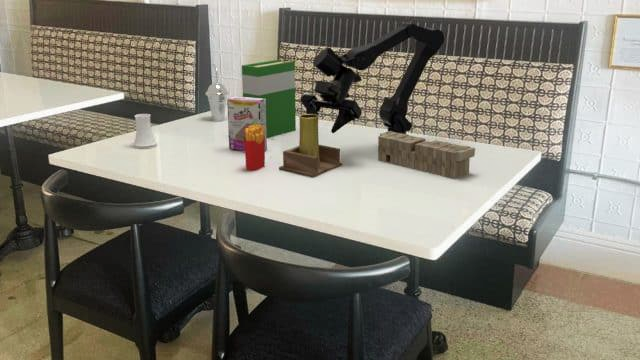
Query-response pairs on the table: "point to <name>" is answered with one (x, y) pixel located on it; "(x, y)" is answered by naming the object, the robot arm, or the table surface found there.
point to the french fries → (254, 147)
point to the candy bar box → (244, 119)
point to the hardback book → (273, 93)
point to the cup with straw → (217, 99)
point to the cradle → (311, 161)
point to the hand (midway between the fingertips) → (319, 130)
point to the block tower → (425, 154)
